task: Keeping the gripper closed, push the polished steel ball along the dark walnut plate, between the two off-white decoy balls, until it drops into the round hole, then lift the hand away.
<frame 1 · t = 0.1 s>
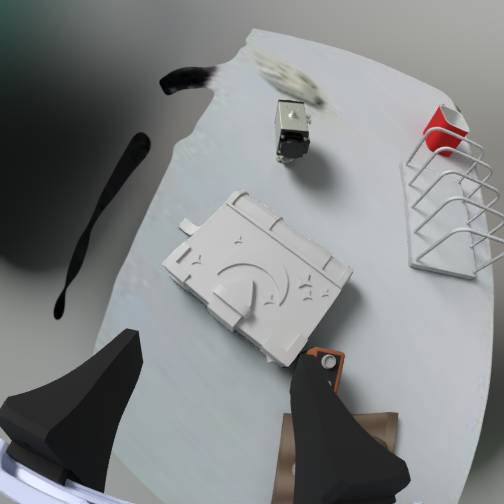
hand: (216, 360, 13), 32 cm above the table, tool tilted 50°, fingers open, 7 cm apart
steel ball: (303, 469, 33), point 4 cm above the table, touching hole plate
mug: (434, 139, 67), on the table
file sorter: (436, 220, 56), on the table
hole plate: (334, 461, 37), on the table
battery: (307, 376, 42), on the table
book: (246, 272, 49), on the table
pneumatic valve: (286, 156, 59), on the table
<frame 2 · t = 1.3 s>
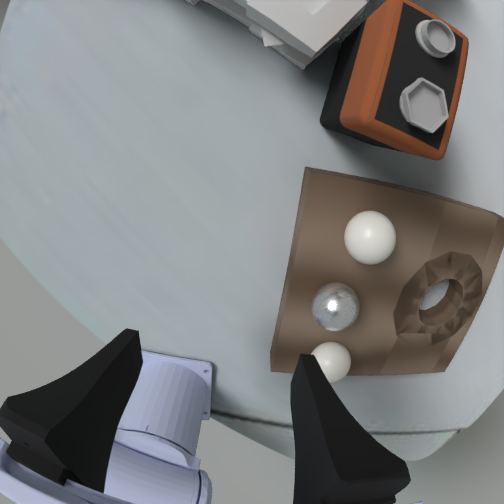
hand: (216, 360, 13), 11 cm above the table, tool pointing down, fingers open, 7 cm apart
steel ball: (335, 306, 19), point 4 cm above the table, touching hole plate
hole plate: (392, 284, 23), on the table
battery: (358, 91, 17), on the table
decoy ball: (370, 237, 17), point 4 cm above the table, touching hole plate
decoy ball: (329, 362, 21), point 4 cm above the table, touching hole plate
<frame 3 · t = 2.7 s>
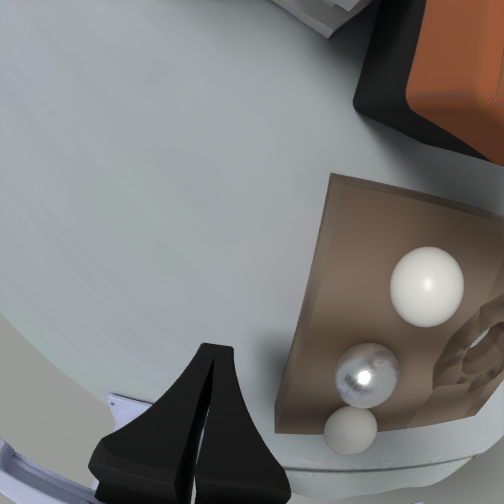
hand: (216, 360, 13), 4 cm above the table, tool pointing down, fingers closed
steel ball: (366, 375, 13), point 4 cm above the table, touching hole plate
hole plate: (431, 327, 16), on the table
battery: (406, 66, 11), on the table
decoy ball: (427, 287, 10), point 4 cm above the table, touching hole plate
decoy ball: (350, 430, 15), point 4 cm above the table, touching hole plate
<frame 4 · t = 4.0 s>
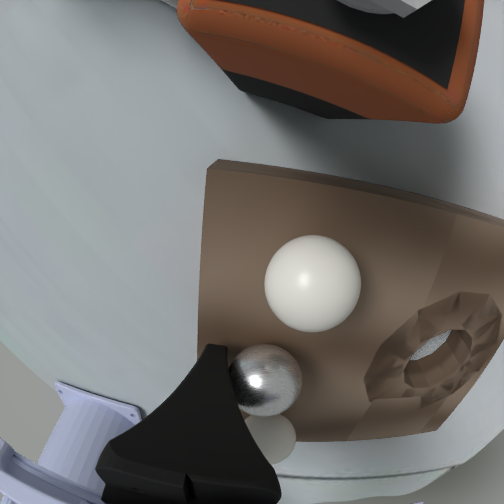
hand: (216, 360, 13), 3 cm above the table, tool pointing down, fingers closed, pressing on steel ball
steel ball: (264, 380, 12), point 4 cm above the table, touching gripper, hole plate
hole plate: (368, 331, 16), on the table
battery: (307, 36, 10), on the table
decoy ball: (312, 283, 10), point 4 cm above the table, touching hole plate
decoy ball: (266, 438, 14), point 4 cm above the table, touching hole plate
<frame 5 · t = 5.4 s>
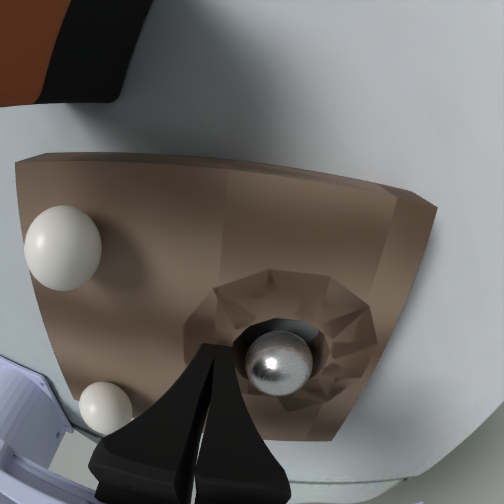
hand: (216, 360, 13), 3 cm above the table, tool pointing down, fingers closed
steel ball: (278, 363, 14), point 2 cm above the table, tilted 18°
hole plate: (203, 314, 16), on the table
battery: (105, 33, 10), on the table
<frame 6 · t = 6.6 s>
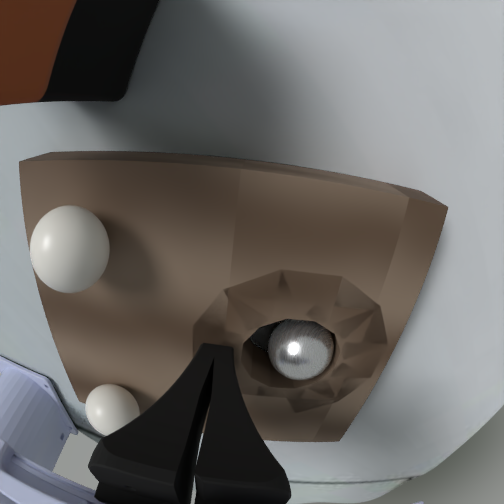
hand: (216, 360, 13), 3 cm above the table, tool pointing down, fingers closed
steel ball: (300, 348, 14), point 2 cm above the table, tilted 56°
hole plate: (211, 315, 15), on the table
battery: (111, 30, 10), on the table
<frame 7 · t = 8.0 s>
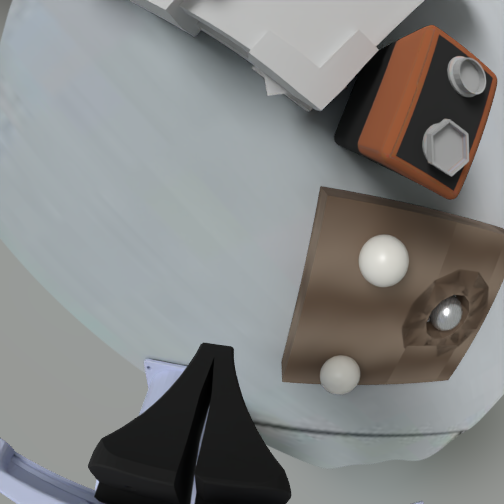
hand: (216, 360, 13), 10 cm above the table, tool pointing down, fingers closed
steel ball: (445, 312, 22), point 2 cm above the table, tilted 47°
hole plate: (401, 298, 23), on the table
battery: (376, 110, 17), on the table
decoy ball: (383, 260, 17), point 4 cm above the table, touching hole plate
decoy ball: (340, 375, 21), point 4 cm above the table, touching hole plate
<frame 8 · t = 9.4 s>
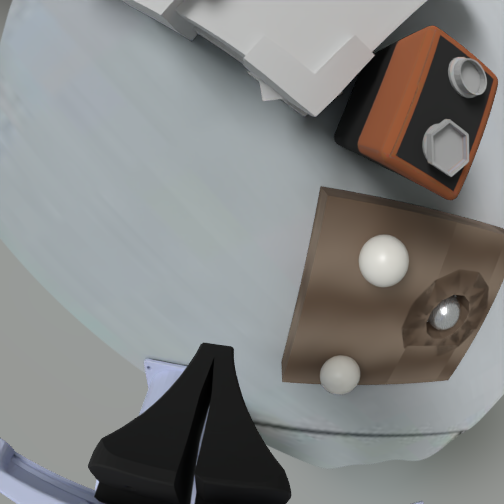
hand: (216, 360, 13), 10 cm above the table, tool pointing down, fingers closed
steel ball: (443, 311, 22), point 2 cm above the table, tilted 40°
hole plate: (401, 298, 23), on the table
battery: (376, 110, 17), on the table
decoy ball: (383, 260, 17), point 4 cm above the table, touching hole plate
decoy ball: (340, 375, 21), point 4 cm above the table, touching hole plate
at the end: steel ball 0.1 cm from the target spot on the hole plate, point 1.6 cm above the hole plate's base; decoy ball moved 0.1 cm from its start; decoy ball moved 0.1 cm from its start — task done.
